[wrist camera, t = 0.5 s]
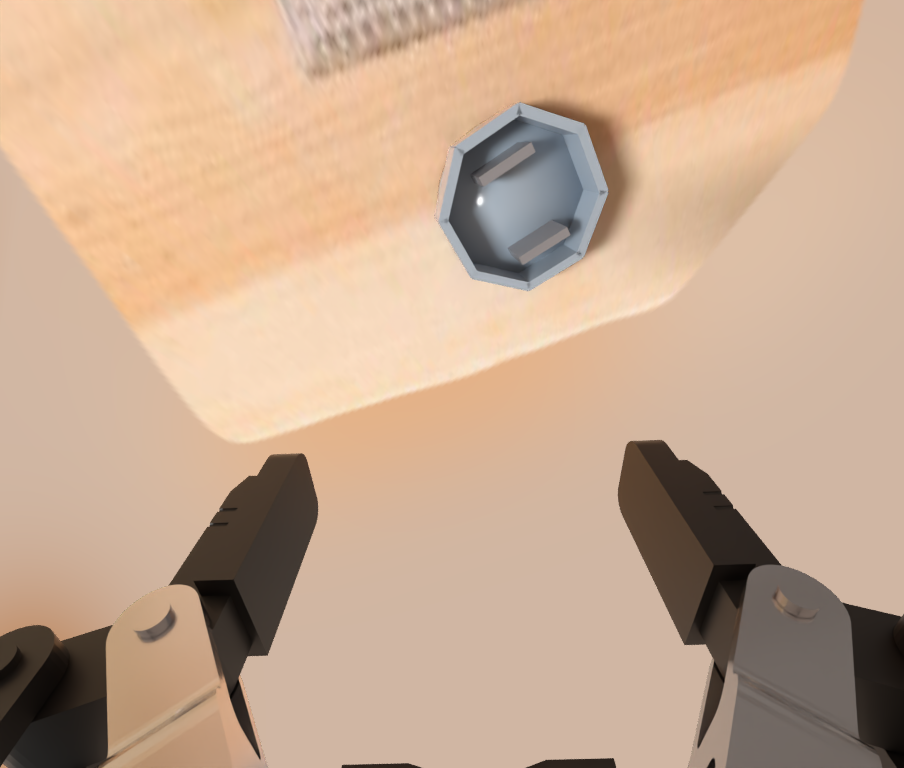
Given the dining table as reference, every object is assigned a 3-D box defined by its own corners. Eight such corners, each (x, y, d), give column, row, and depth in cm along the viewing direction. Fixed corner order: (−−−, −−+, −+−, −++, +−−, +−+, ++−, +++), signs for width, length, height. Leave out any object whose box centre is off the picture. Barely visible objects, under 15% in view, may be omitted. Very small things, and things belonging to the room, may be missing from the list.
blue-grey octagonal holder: (481, 298, 33) (493, 316, 30) (408, 173, 28) (412, 177, 25) (600, 224, 32) (627, 234, 28) (545, 77, 27) (569, 67, 23)
